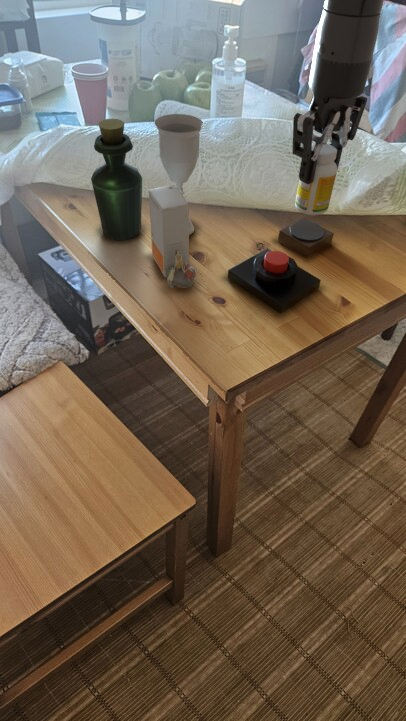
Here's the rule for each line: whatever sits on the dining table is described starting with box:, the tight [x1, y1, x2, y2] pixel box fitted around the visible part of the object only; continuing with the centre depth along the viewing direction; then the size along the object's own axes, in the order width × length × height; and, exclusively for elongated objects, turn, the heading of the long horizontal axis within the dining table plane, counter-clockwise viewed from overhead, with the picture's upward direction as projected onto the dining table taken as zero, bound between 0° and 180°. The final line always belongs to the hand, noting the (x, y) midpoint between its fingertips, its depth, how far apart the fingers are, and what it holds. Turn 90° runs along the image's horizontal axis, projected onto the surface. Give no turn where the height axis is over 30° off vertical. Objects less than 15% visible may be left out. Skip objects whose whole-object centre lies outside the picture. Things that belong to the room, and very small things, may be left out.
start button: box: [264, 250, 290, 274], centre depth 76 cm, size 4×4×2 cm
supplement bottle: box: [294, 143, 338, 216], centre depth 78 cm, size 5×5×10 cm
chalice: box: [154, 113, 204, 236], centre depth 82 cm, size 7×7×18 cm
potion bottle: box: [90, 118, 143, 241], centre depth 81 cm, size 8×8×18 cm
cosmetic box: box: [148, 184, 190, 278], centre depth 77 cm, size 6×4×12 cm
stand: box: [277, 217, 335, 259], centre depth 86 cm, size 6×6×2 cm
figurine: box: [166, 250, 197, 289], centre depth 76 cm, size 5×4×6 cm
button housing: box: [227, 247, 322, 314], centre depth 77 cm, size 11×9×4 cm
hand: (318, 175), depth 78 cm, fingers closed on supplement bottle, 5 cm apart
